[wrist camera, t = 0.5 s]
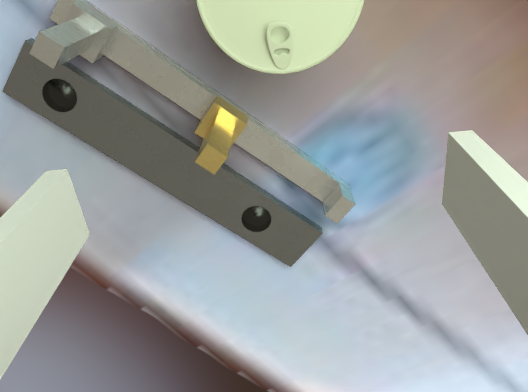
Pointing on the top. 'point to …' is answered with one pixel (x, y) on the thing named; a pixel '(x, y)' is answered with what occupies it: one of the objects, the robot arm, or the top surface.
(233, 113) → the slider
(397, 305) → the top surface
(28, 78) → the hole plate
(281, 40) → the can
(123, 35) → the rail
